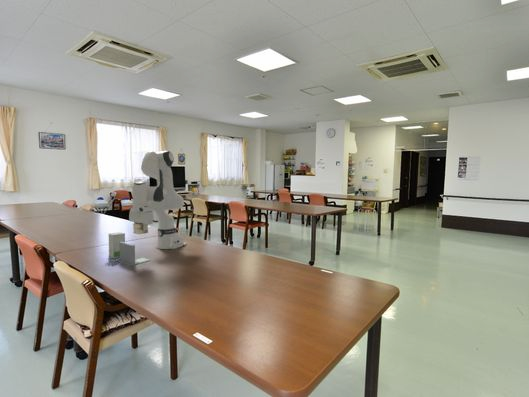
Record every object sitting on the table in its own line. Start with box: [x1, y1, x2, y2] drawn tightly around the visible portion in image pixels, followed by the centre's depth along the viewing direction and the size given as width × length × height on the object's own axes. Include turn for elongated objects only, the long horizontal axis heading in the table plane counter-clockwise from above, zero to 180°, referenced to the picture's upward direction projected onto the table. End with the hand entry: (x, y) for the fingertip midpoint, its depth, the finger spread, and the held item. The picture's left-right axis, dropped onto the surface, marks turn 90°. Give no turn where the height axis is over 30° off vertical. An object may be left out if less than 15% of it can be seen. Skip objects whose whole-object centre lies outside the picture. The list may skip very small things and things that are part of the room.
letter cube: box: [132, 223, 149, 235], centre depth 180 cm, size 6×6×6 cm
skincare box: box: [108, 231, 126, 259], centre depth 190 cm, size 8×7×16 cm
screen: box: [116, 241, 139, 267], centre depth 178 cm, size 5×15×12 cm, turn 56°
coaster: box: [135, 257, 150, 264], centre depth 182 cm, size 7×7×1 cm
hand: (140, 229), depth 180 cm, fingers closed on letter cube, 6 cm apart
